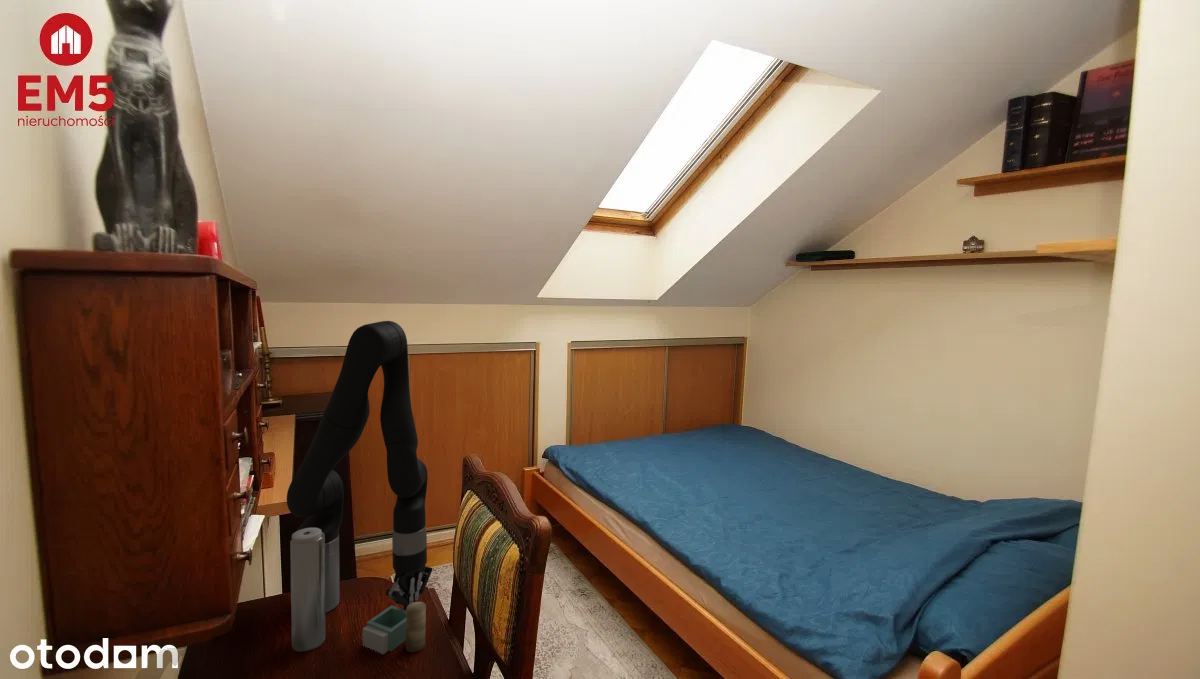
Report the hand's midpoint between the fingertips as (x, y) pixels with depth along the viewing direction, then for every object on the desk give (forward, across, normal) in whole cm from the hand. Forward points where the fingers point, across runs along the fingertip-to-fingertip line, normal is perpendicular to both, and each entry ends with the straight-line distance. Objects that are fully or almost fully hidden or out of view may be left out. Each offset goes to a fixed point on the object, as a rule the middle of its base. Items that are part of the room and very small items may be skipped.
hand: (410, 616), depth 122 cm
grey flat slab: (+1, +10, 0) cm, 10 cm away
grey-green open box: (+1, +6, 0) cm, 6 cm away
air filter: (+1, +15, -15) cm, 21 cm away
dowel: (+2, +6, +7) cm, 9 cm away
